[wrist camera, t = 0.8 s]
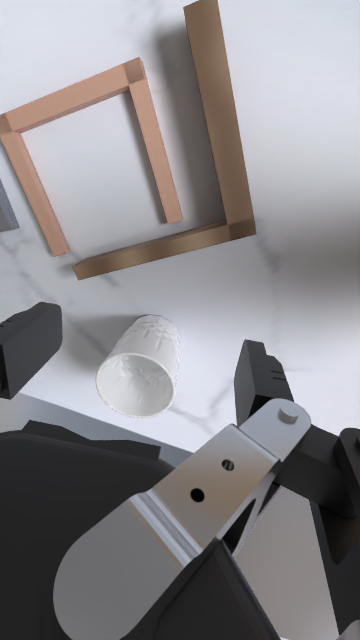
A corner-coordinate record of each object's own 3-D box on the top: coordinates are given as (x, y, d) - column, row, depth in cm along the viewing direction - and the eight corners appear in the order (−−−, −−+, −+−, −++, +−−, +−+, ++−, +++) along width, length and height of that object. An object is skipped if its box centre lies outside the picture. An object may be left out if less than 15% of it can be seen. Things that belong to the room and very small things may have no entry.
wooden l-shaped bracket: (215, 21, 24) (216, -8, 20) (251, 228, 31) (256, 234, 27) (24, 101, 28) (-5, 90, 24) (92, 270, 34) (78, 280, 31)
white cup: (156, 374, 40) (139, 430, 31) (111, 337, 38) (79, 385, 29) (197, 339, 37) (192, 390, 28) (150, 297, 35) (129, 337, 26)
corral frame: (142, 62, 25) (139, 56, 24) (183, 219, 31) (182, 220, 30) (-1, 121, 29) (-9, 118, 27) (59, 254, 34) (54, 256, 33)
